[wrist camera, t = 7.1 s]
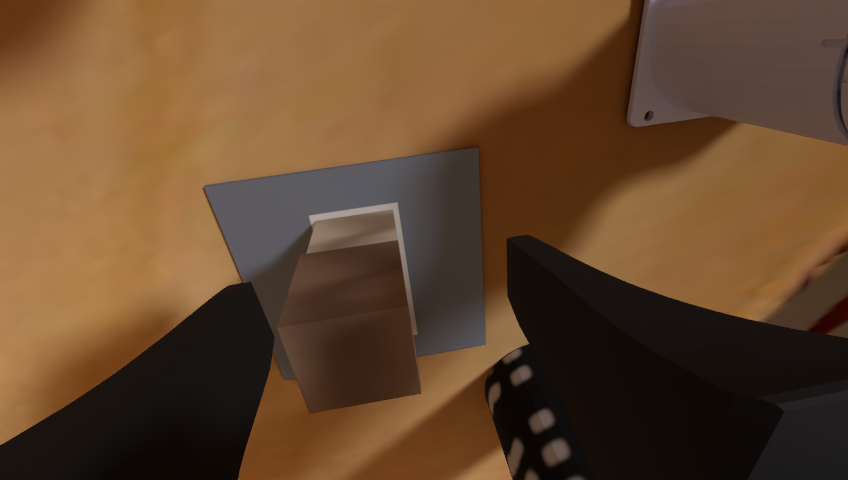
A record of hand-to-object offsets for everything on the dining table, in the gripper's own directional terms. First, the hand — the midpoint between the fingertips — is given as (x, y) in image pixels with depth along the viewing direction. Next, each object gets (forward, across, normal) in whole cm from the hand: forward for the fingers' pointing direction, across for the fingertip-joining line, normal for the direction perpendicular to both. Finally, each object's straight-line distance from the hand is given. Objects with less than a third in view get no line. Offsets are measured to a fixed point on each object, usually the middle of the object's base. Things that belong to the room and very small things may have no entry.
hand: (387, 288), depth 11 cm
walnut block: (+5, +2, +4) cm, 7 cm away
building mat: (+10, +2, +6) cm, 12 cm away
